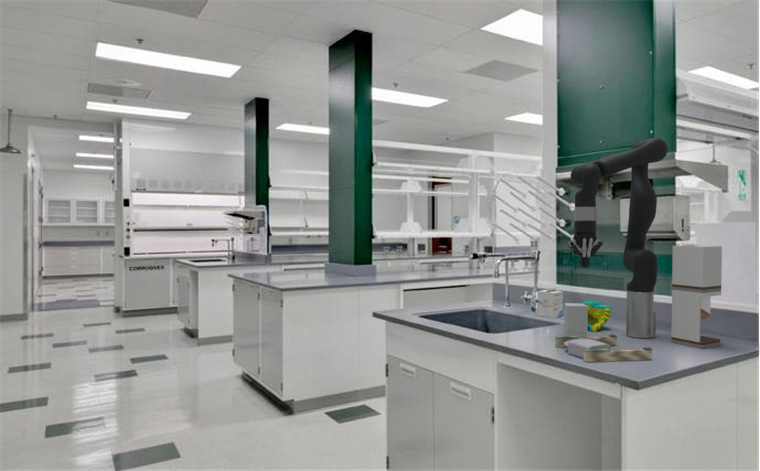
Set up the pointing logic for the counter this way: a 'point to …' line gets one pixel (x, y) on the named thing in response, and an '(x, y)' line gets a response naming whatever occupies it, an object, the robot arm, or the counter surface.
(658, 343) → the counter surface
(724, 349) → the counter surface
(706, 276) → the coffee maker
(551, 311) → the ink box
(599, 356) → the railed run
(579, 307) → the supplement box
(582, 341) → the charger
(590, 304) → the organ model
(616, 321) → the counter surface
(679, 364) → the counter surface
